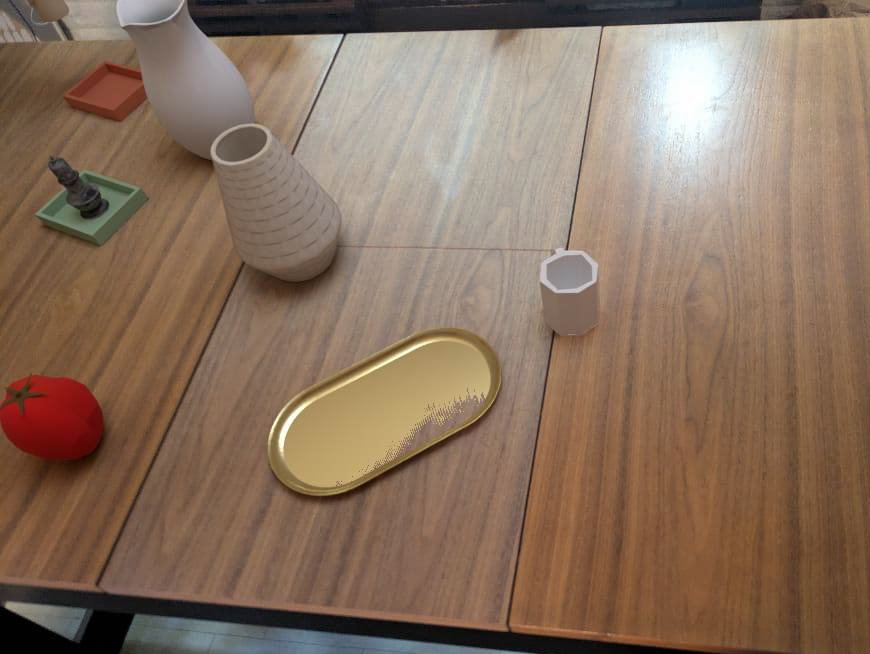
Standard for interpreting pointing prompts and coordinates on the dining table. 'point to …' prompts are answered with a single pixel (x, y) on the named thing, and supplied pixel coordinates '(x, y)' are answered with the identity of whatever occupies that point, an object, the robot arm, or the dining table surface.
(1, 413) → the tomato
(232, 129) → the vase
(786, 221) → the dining table surface
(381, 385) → the serving platter
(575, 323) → the mug
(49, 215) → the green tray
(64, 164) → the dark grey figurine
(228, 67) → the pitcher
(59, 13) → the candle
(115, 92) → the terracotta tray
